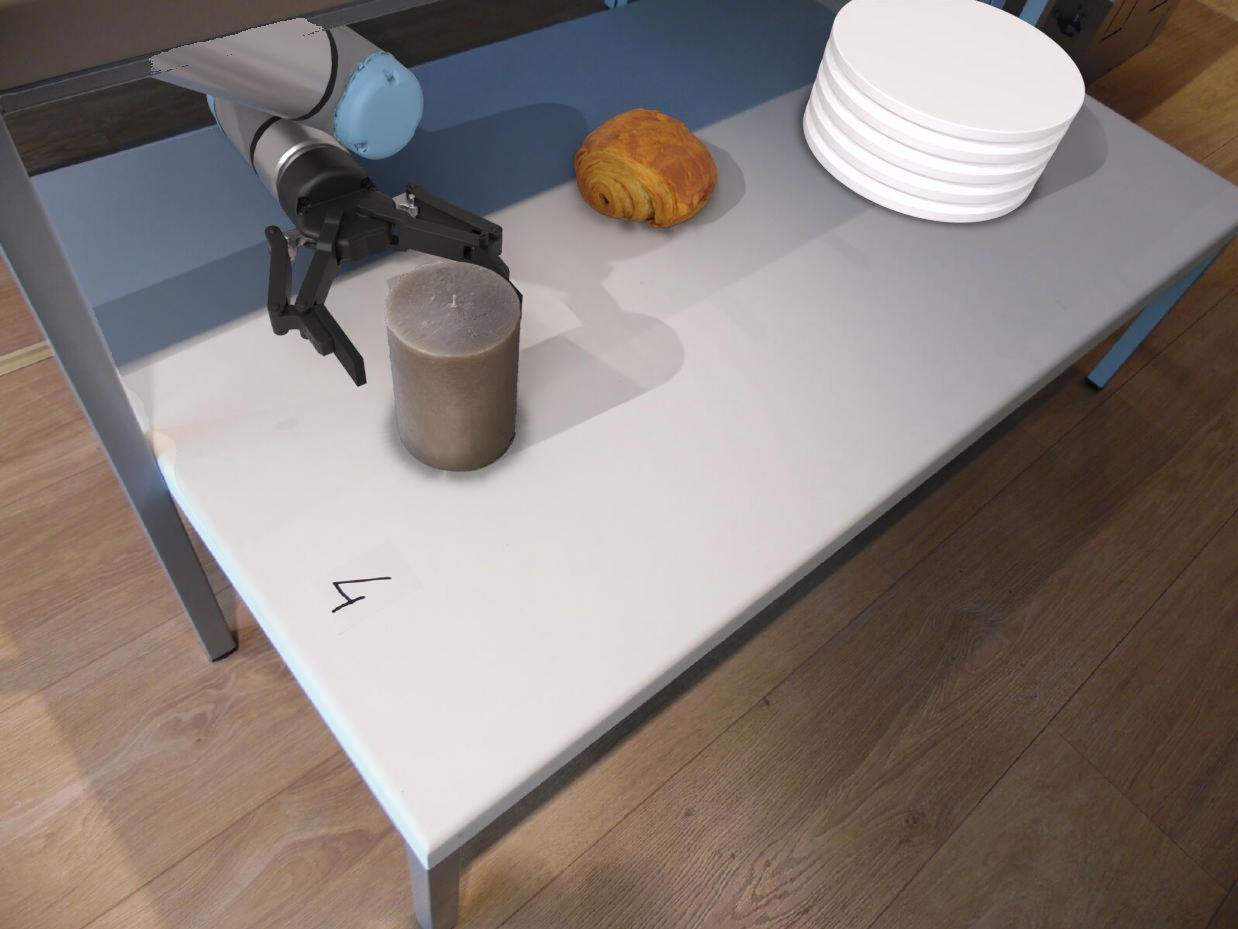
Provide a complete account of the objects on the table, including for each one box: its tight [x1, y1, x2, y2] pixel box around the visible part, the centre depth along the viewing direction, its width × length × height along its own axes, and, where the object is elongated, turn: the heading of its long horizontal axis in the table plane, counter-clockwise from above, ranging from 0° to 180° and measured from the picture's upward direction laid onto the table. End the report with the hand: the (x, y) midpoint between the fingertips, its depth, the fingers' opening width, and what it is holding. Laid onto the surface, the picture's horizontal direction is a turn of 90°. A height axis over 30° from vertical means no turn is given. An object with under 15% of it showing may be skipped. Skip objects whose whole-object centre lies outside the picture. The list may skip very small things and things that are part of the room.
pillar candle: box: [383, 260, 522, 473], centre depth 70 cm, size 10×10×15 cm
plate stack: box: [802, 0, 1086, 224], centre depth 104 cm, size 28×28×12 cm
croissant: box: [573, 107, 718, 229], centre depth 95 cm, size 14×16×8 cm
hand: (443, 340), depth 70 cm, fingers open, 13 cm apart
